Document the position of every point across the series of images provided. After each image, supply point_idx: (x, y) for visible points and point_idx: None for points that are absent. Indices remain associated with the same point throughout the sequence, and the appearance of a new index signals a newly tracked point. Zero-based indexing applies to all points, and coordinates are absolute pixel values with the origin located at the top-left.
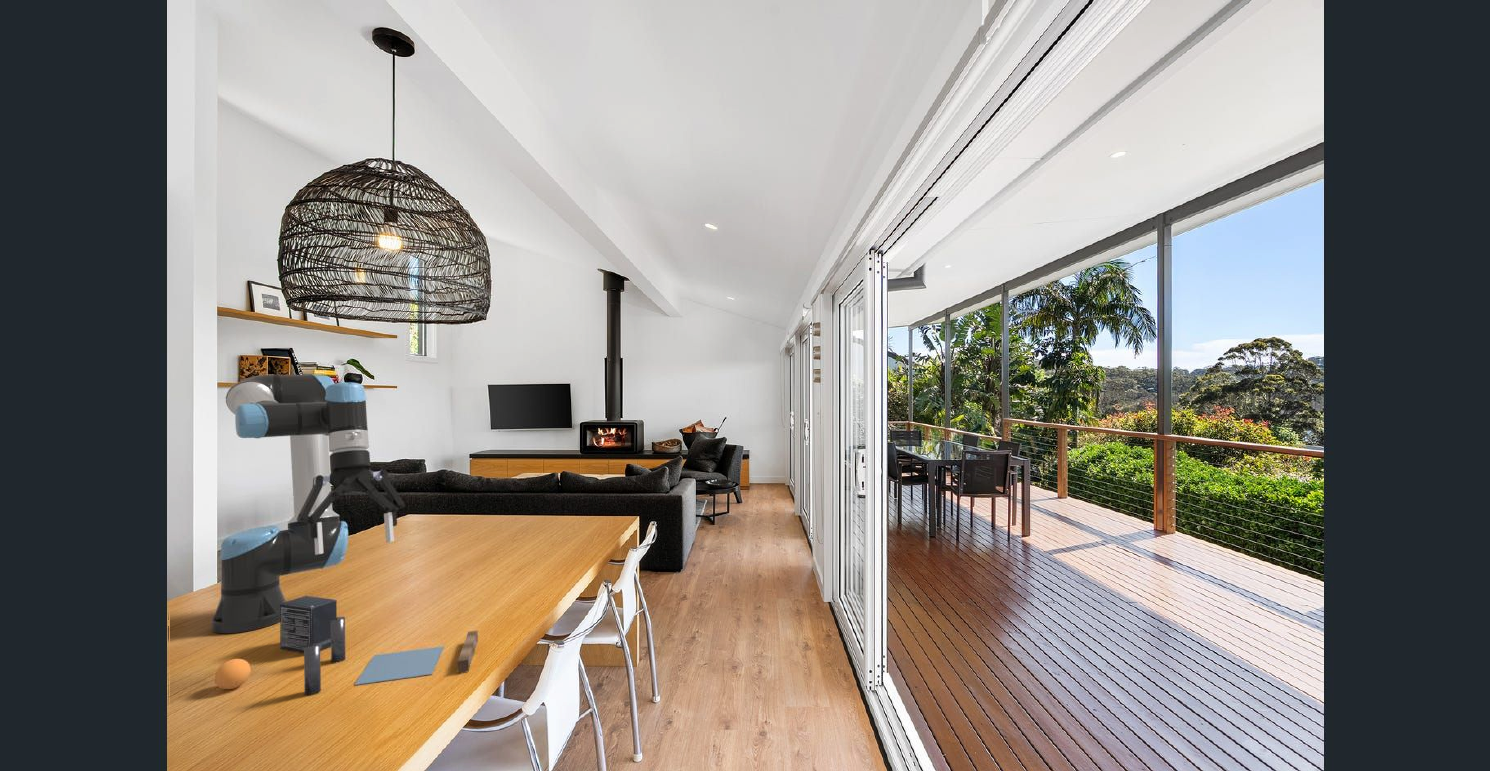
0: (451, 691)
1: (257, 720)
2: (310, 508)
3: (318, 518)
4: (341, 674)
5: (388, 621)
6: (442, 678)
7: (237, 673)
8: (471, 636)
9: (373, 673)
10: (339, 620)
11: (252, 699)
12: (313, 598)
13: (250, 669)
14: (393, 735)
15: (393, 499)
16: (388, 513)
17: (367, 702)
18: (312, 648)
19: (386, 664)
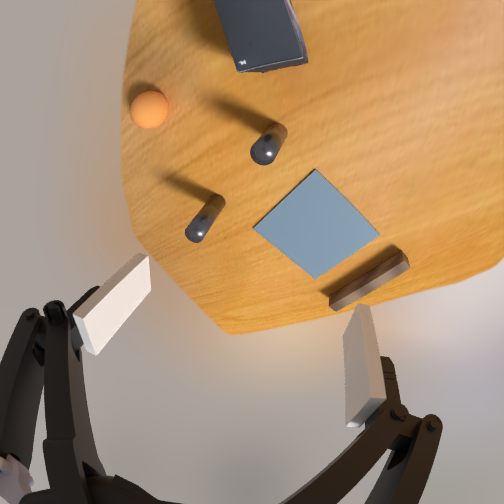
0: (299, 312)
1: (167, 213)
2: (41, 378)
3: (81, 360)
4: (258, 184)
5: (416, 53)
6: (314, 291)
7: (148, 128)
8: (391, 274)
9: (281, 222)
10: (261, 164)
11: (169, 160)
12: (271, 1)
13: (164, 115)
14: (235, 318)
15: (388, 472)
16: (346, 423)
17: (245, 269)
18: (192, 241)
19: (305, 214)
